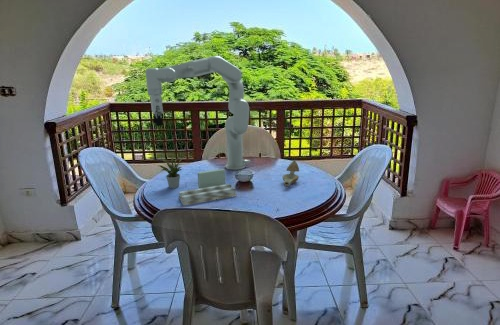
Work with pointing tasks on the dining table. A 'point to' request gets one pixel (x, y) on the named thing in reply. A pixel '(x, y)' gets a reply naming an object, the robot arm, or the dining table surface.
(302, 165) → the dining table surface
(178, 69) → the robot arm
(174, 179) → the house plant
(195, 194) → the door track
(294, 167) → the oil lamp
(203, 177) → the door panel
